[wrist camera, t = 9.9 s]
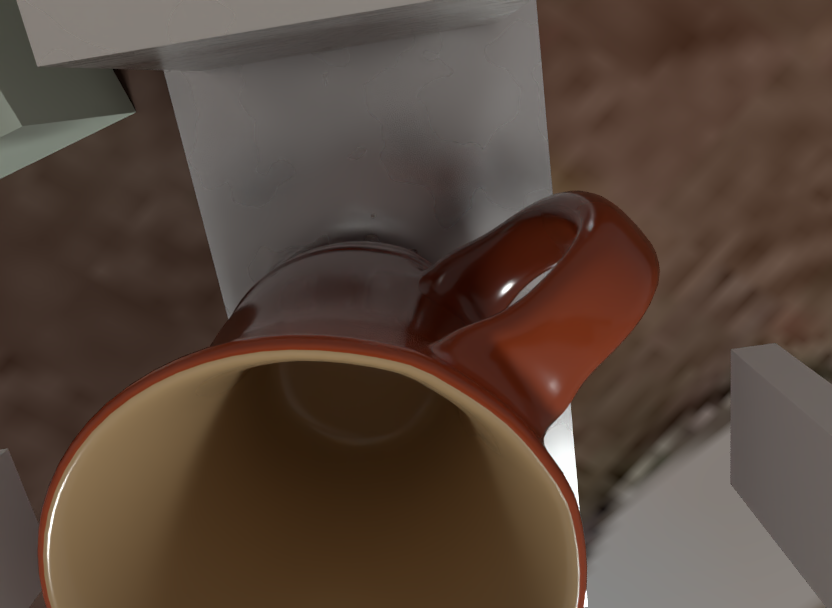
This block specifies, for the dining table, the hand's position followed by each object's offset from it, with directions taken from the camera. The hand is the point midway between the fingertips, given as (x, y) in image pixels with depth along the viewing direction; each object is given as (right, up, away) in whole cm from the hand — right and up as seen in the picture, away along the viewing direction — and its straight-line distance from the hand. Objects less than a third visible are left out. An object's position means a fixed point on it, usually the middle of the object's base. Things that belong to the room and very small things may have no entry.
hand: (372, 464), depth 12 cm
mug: (0, +3, +8) cm, 9 cm away
